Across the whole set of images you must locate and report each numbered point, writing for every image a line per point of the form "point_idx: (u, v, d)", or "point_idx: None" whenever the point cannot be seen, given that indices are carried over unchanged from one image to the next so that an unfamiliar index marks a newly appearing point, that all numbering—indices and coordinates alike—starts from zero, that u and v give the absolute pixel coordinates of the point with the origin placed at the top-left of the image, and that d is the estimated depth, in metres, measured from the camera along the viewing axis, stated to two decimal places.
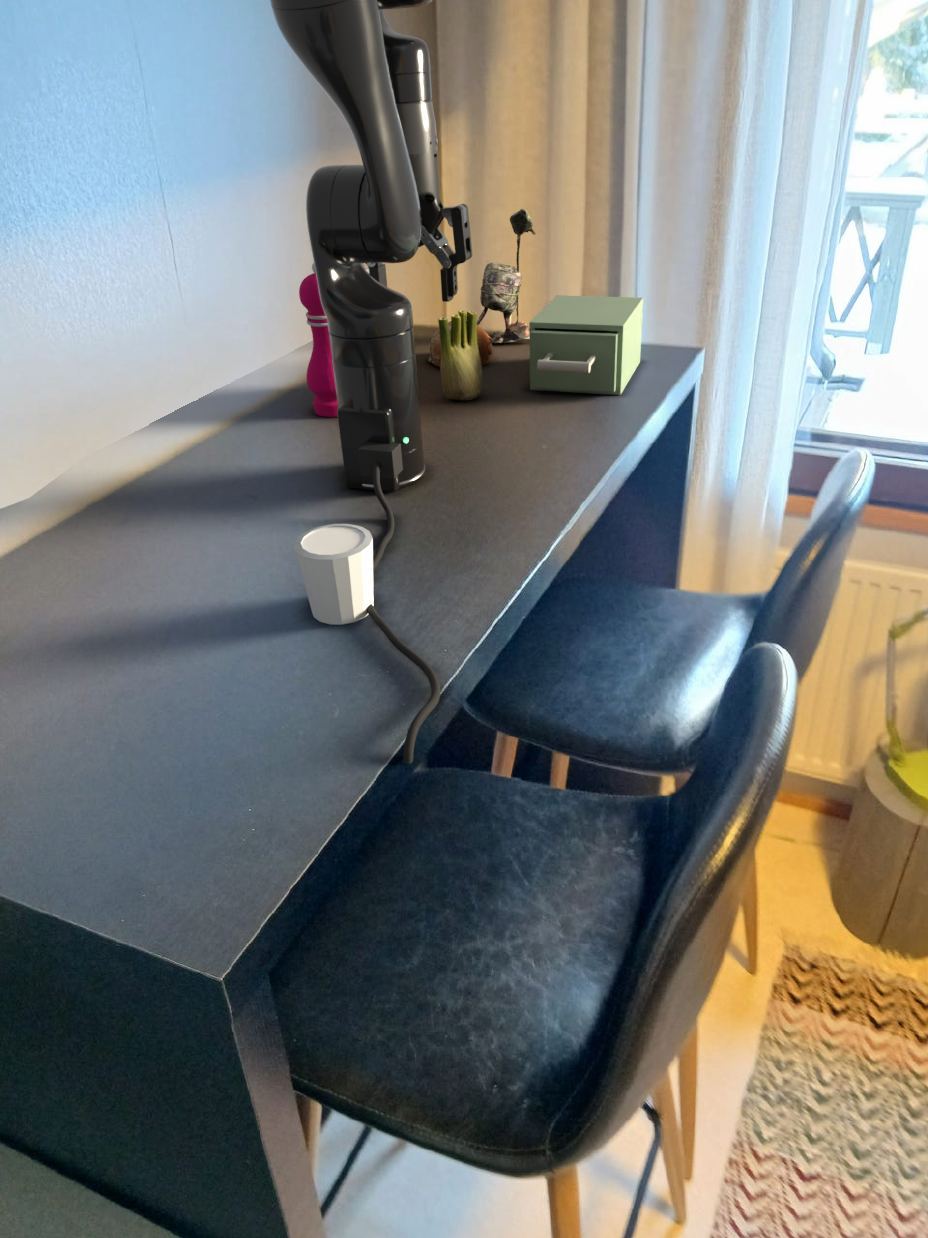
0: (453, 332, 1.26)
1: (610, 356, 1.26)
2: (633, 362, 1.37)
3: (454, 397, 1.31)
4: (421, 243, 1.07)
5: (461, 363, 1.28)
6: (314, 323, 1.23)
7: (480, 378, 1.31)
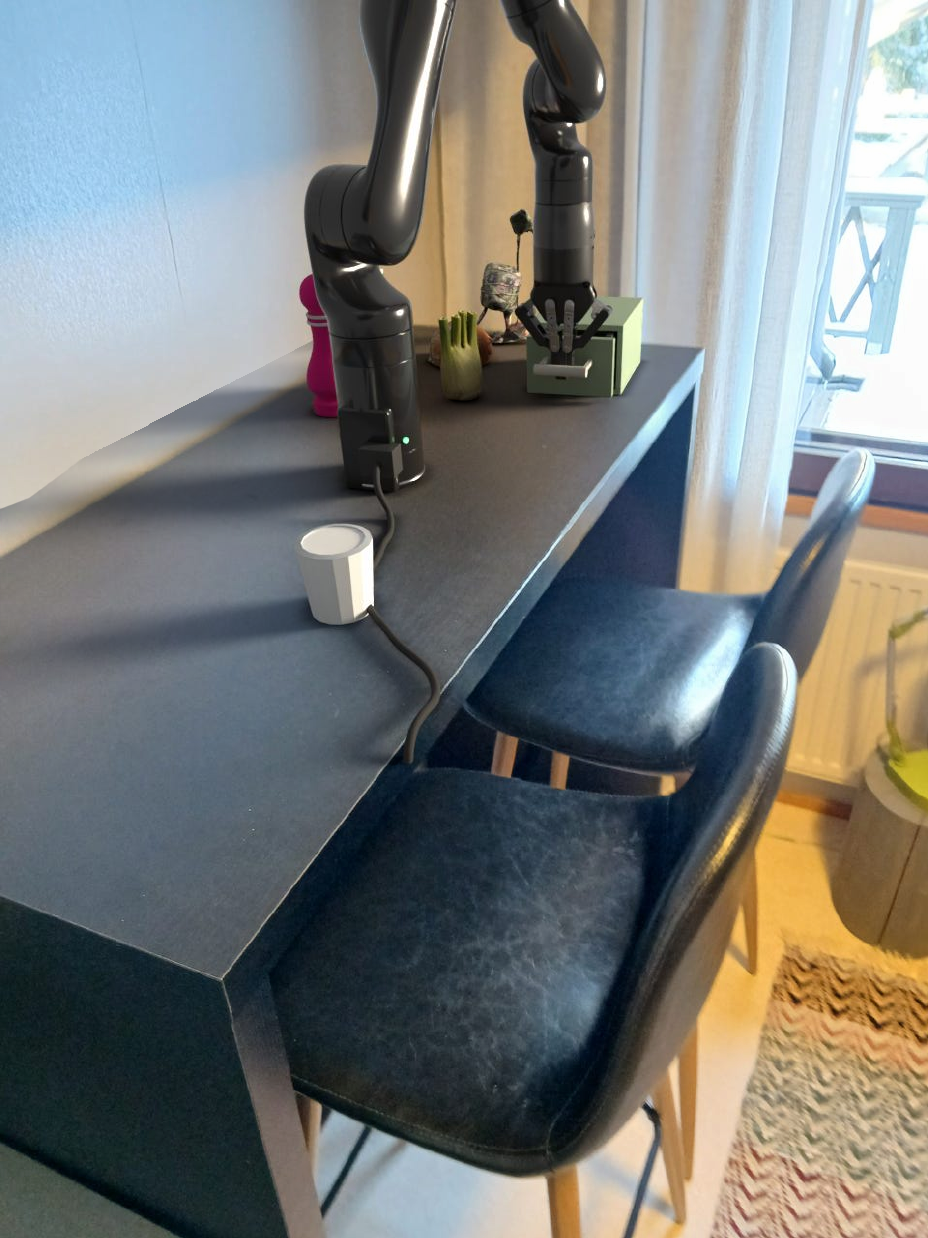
0: (453, 332, 1.26)
1: (607, 360, 1.25)
2: (633, 362, 1.37)
3: (454, 397, 1.31)
4: (574, 322, 1.19)
5: (461, 363, 1.28)
6: (314, 323, 1.23)
7: (480, 378, 1.31)
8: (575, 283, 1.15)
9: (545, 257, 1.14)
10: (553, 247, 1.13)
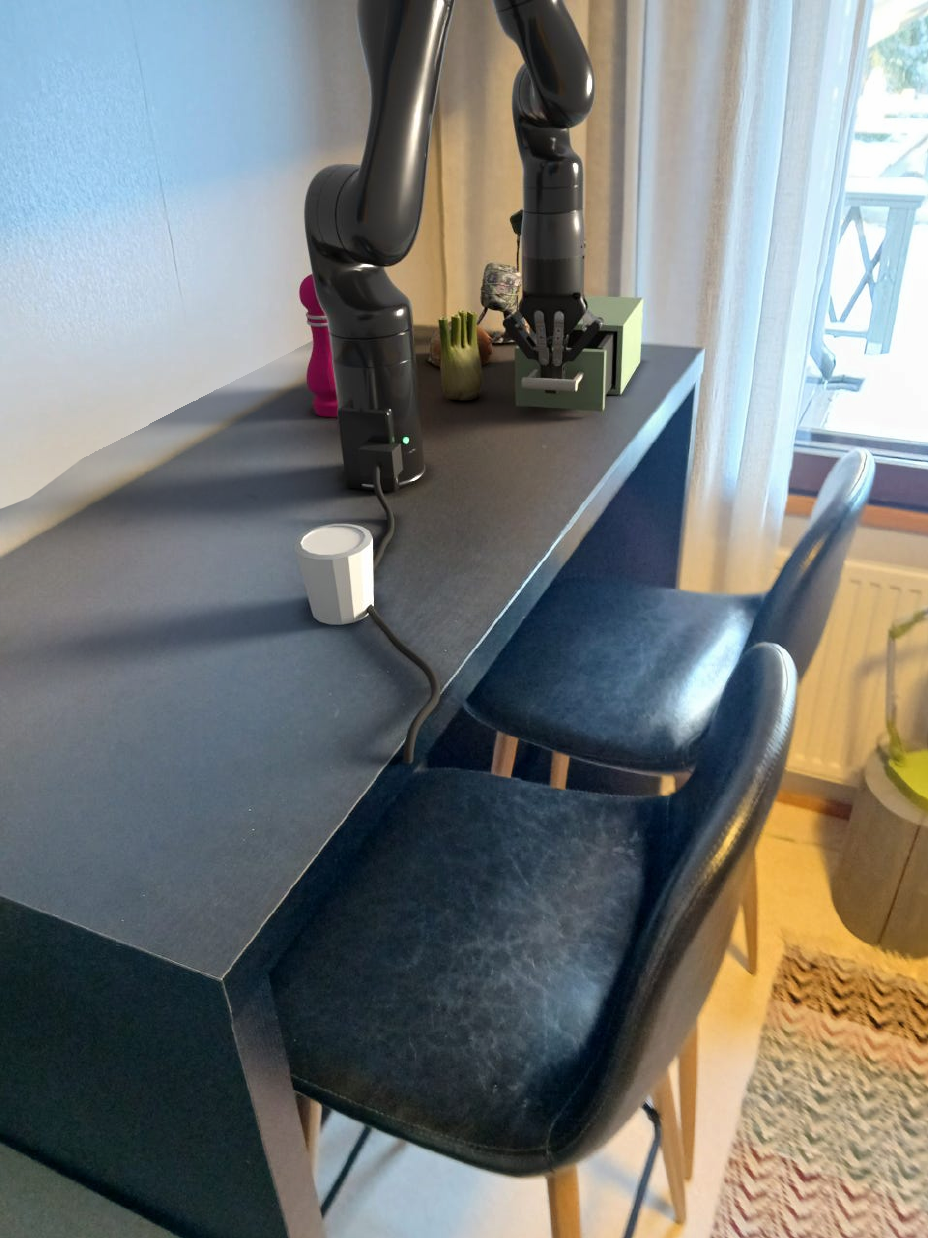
0: (453, 332, 1.26)
1: (598, 373, 1.20)
2: (633, 362, 1.37)
3: (454, 397, 1.31)
4: (564, 335, 1.15)
5: (461, 363, 1.28)
6: (314, 323, 1.23)
7: (480, 378, 1.31)
8: (565, 294, 1.10)
9: (533, 267, 1.09)
10: (542, 257, 1.08)
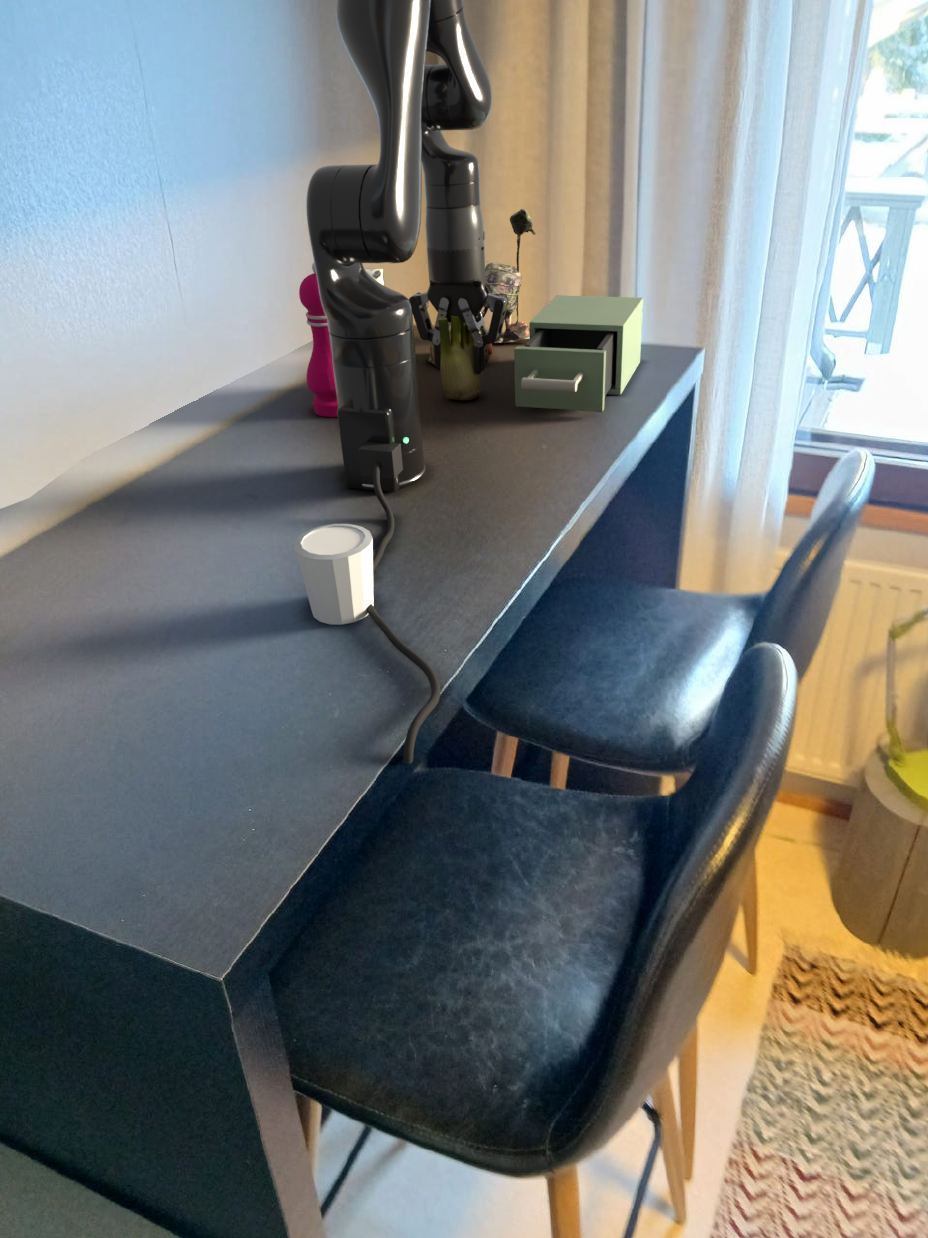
0: (453, 332, 1.27)
1: (598, 373, 1.20)
2: (633, 362, 1.37)
3: (454, 397, 1.31)
4: None
5: (461, 363, 1.28)
6: (314, 323, 1.23)
7: (480, 378, 1.31)
8: (465, 282, 1.21)
9: (436, 257, 1.20)
10: (443, 248, 1.19)
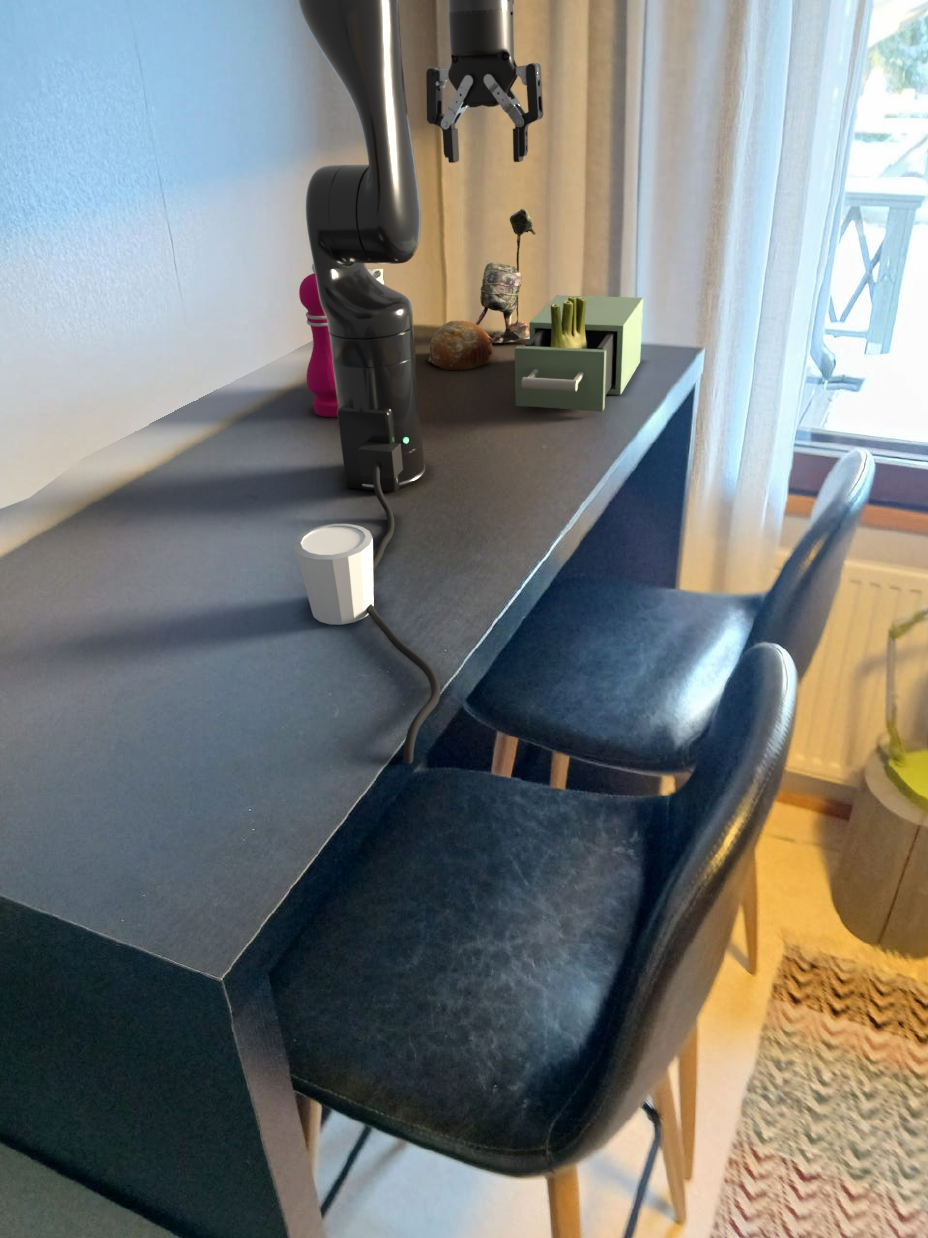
0: (565, 319, 1.22)
1: (598, 373, 1.20)
2: (633, 362, 1.37)
3: None
4: (495, 102, 1.12)
5: None
6: (314, 323, 1.23)
7: None
8: (493, 52, 1.08)
9: (460, 21, 1.07)
10: (467, 8, 1.06)
